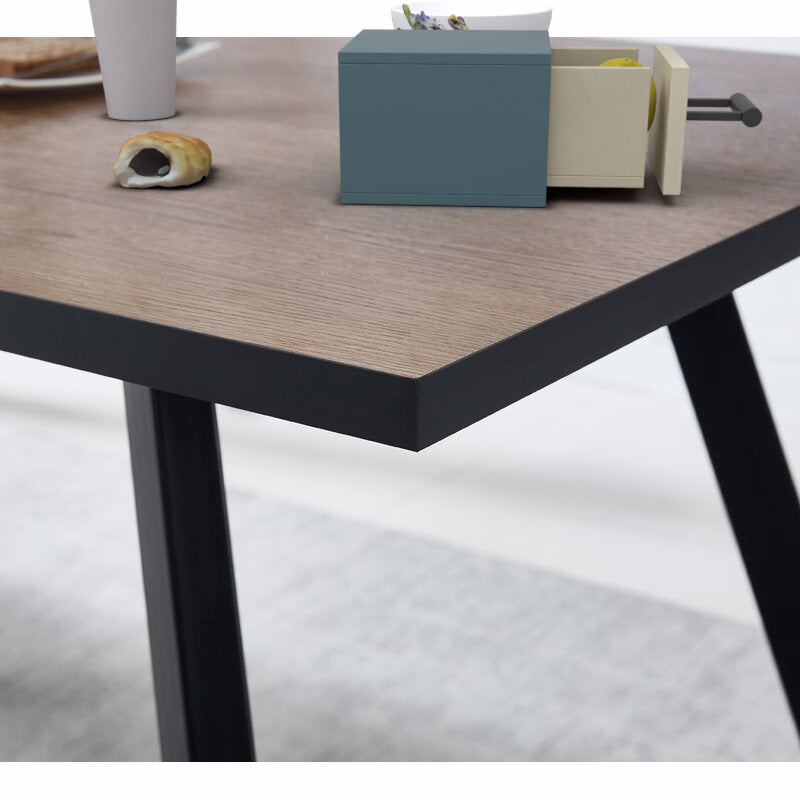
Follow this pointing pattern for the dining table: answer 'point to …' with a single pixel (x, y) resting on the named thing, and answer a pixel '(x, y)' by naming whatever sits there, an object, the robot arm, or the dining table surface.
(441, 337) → the dining table surface
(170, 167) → the pastry
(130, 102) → the coffee cup
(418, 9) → the bowl
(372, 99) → the cabinet
